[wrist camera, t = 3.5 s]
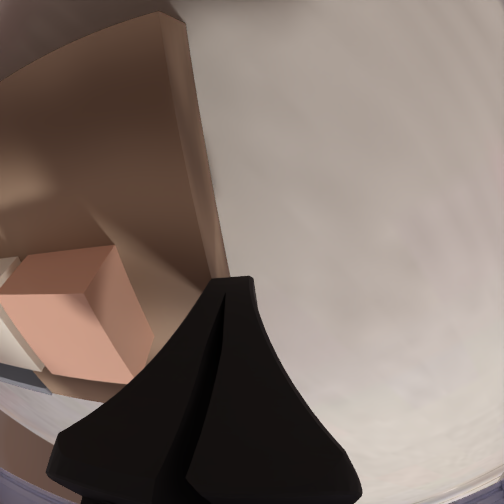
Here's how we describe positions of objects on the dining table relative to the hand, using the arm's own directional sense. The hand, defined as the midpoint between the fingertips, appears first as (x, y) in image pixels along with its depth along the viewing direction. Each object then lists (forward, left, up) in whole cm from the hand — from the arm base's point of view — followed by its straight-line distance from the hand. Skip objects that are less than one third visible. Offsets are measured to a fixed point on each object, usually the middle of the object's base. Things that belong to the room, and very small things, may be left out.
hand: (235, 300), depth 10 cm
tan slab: (0, +8, -3) cm, 9 cm away
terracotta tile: (0, +6, 0) cm, 6 cm away
